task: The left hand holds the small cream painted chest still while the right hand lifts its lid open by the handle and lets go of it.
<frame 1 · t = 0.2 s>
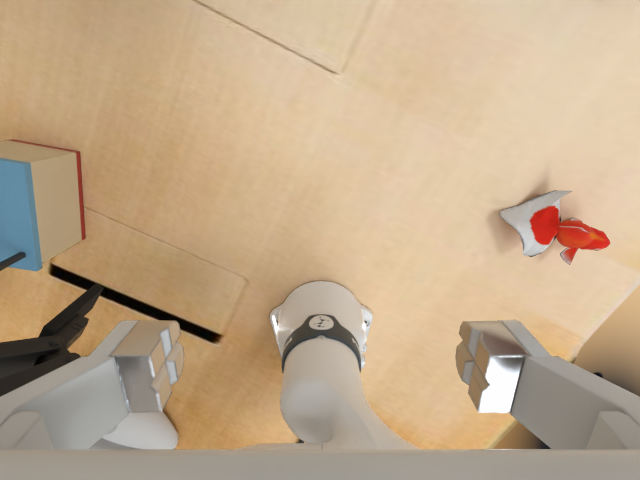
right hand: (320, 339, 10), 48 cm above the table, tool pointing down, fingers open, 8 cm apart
chest: (50, 191, 58), on the table
red and white toy: (537, 221, 60), on the table
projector: (133, 409, 75), on the table
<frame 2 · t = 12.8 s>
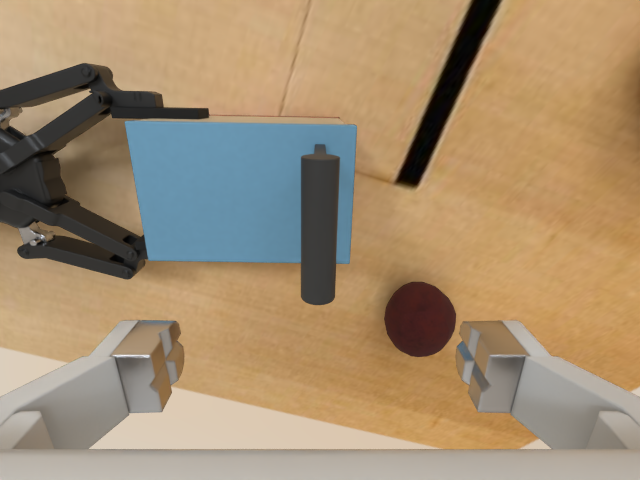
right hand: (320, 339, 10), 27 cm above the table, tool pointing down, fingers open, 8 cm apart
left hand: (210, 181, 30), fingers closed on chest, 10 cm apart
chest: (264, 169, 36), on the table, touching left hand
lid: (235, 211, 22), point 15 cm above the table, hinge at 0.0°
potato: (411, 299, 41), on the table
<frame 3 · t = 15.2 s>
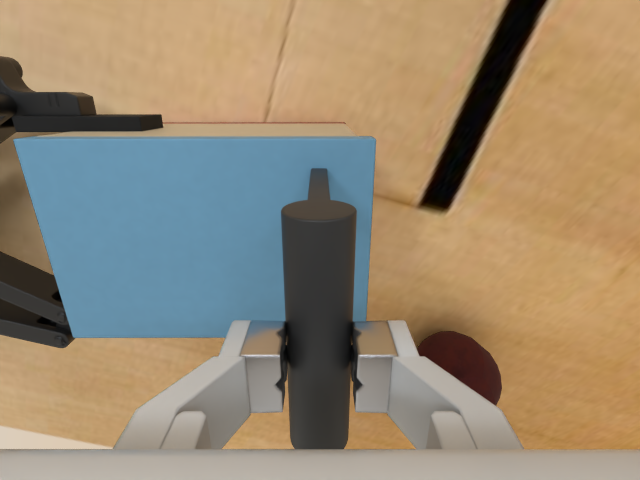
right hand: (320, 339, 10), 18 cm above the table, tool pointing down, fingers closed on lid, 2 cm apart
chest: (246, 191, 27), on the table, touching left hand
lid: (183, 282, 14), point 15 cm above the table, hinge at -0.1°, touching right hand
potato: (438, 349, 33), on the table
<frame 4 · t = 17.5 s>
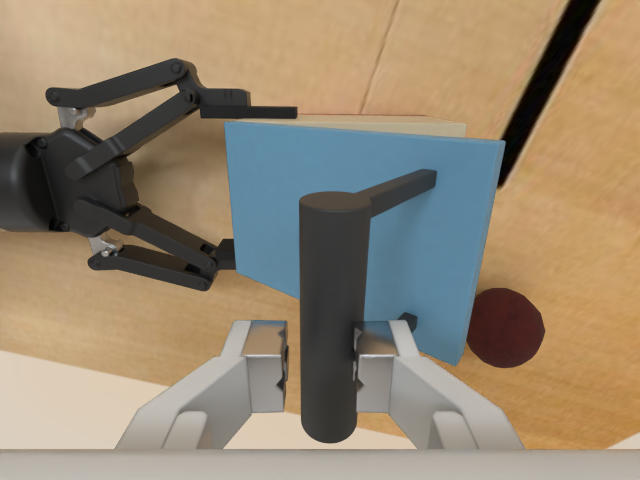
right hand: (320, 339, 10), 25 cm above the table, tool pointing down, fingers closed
left hand: (297, 186, 28), fingers closed on chest, 10 cm apart
chest: (339, 171, 34), on the table, touching left hand
lid: (282, 248, 16), point 18 cm above the table, hinge at 37.5°, touching right hand
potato: (486, 306, 39), on the table
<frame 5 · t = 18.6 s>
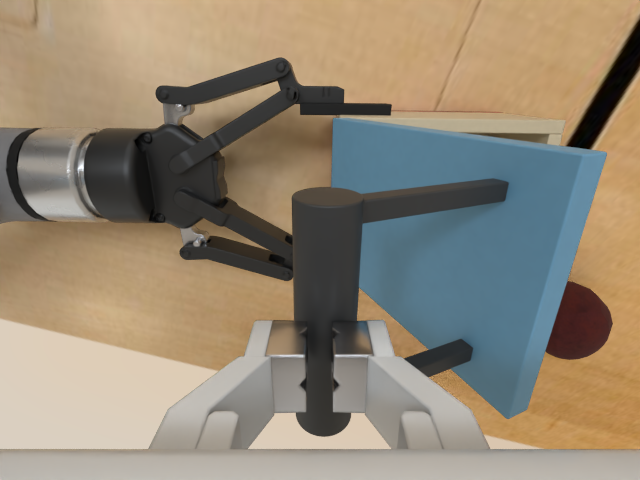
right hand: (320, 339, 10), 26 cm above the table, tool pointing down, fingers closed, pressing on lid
left hand: (382, 180, 29), fingers closed on chest, 10 cm apart
chest: (411, 166, 34), on the table, touching left hand
lid: (342, 242, 17), point 19 cm above the table, hinge at 63.5°, touching right hand
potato: (546, 299, 40), on the table
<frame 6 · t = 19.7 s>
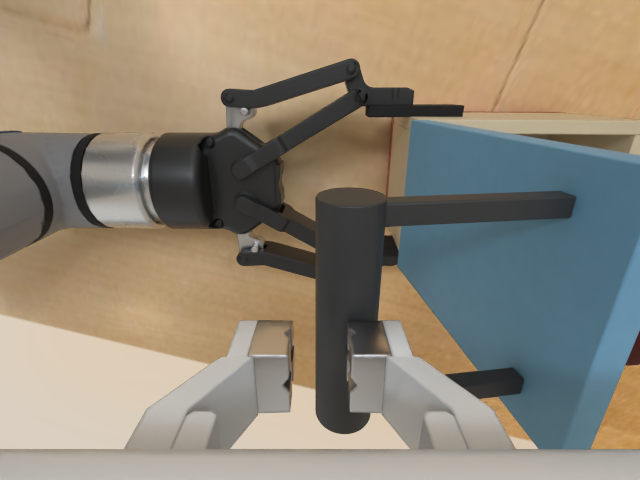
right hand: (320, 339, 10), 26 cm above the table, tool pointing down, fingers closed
left hand: (447, 183, 28), fingers closed on chest, 10 cm apart
chest: (466, 168, 34), on the table, touching left hand
lid: (395, 246, 16), point 19 cm above the table, hinge at 79.9°, touching right hand
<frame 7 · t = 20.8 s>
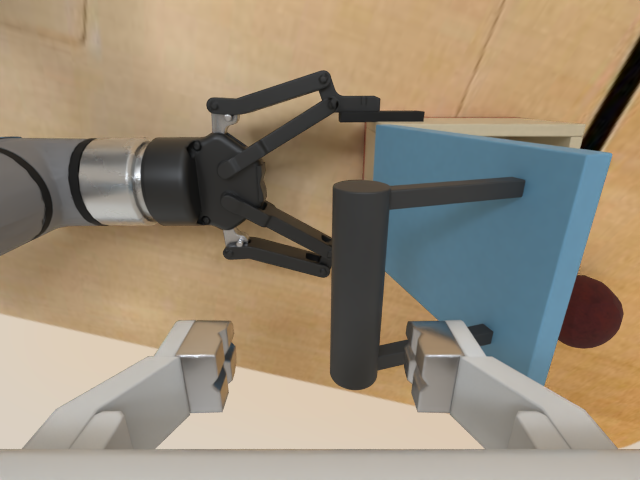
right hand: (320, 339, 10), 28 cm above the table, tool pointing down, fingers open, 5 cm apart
left hand: (413, 181, 31), fingers closed on chest, 10 cm apart
chest: (434, 168, 37), on the table, touching left hand
lid: (377, 233, 19), point 19 cm above the table, hinge at 72.1°
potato: (558, 293, 42), on the table
when the left hand's fingers open (6 cm above the table, at t = 23.6 s): chest stays where it is, on the table.
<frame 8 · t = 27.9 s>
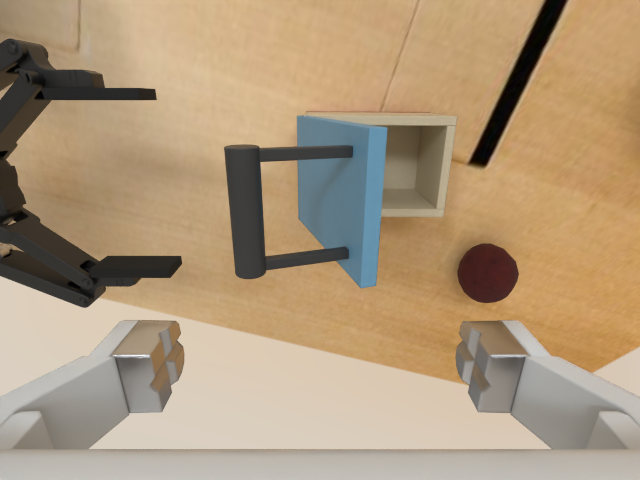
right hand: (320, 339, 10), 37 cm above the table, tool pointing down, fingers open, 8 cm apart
left hand: (163, 188, 28), fingers open, 13 cm apart
chest: (365, 154, 45), on the table
lid: (282, 190, 27), point 19 cm above the table, hinge at 71.5°
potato: (475, 260, 50), on the table
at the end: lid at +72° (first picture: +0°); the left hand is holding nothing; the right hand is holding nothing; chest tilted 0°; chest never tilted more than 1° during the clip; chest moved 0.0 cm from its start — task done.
